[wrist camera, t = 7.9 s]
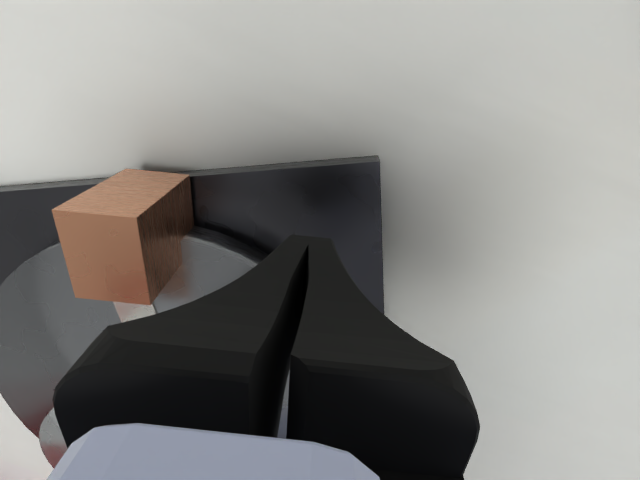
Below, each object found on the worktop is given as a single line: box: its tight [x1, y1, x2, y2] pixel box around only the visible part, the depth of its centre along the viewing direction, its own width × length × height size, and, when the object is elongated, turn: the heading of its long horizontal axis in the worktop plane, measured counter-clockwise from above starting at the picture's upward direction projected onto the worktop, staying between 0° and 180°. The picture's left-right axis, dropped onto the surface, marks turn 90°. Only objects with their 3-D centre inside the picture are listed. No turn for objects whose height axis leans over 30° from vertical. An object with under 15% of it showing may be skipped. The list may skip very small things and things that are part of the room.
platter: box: [0, 169, 290, 439], centre depth 17 cm, size 19×17×4 cm
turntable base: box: [0, 156, 384, 314], centre depth 19 cm, size 20×20×1 cm
